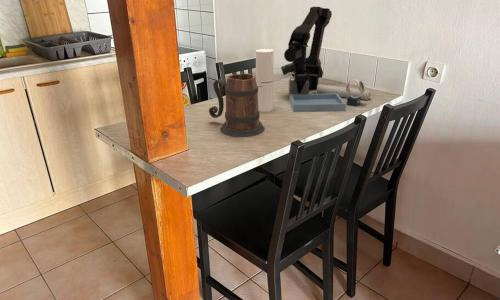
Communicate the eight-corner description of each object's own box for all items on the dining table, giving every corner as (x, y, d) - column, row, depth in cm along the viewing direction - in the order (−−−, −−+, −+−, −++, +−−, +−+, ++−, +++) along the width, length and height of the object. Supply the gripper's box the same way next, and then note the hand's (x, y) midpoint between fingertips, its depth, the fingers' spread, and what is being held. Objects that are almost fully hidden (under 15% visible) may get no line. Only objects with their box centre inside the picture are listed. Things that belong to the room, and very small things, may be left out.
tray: (289, 100, 172) (289, 94, 171) (336, 99, 172) (337, 93, 171) (293, 111, 157) (293, 104, 156) (345, 110, 157) (345, 104, 156)
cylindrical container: (271, 112, 157) (271, 52, 147) (254, 111, 158) (254, 51, 148) (273, 107, 163) (274, 49, 153) (257, 106, 165) (257, 48, 154)
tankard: (273, 125, 143) (273, 74, 134) (249, 140, 130) (248, 84, 121) (223, 115, 154) (221, 67, 146) (197, 128, 141) (193, 76, 133)
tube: (372, 90, 172) (320, 84, 183) (370, 89, 167) (317, 83, 178) (370, 101, 173) (318, 95, 183) (368, 101, 168) (315, 94, 179)
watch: (360, 107, 161) (363, 82, 157) (342, 104, 165) (345, 80, 161) (364, 103, 166) (367, 79, 161) (347, 101, 170) (349, 77, 165)
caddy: (288, 92, 180) (288, 76, 177) (307, 92, 180) (307, 75, 177) (289, 95, 175) (289, 78, 172) (308, 94, 175) (309, 78, 172)
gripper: (280, 54, 179) (280, 86, 186) (284, 62, 162) (283, 97, 169) (303, 54, 179) (302, 85, 186) (309, 62, 162) (307, 96, 169)
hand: (298, 91), depth 177 cm, fingers closed on caddy, 5 cm apart
